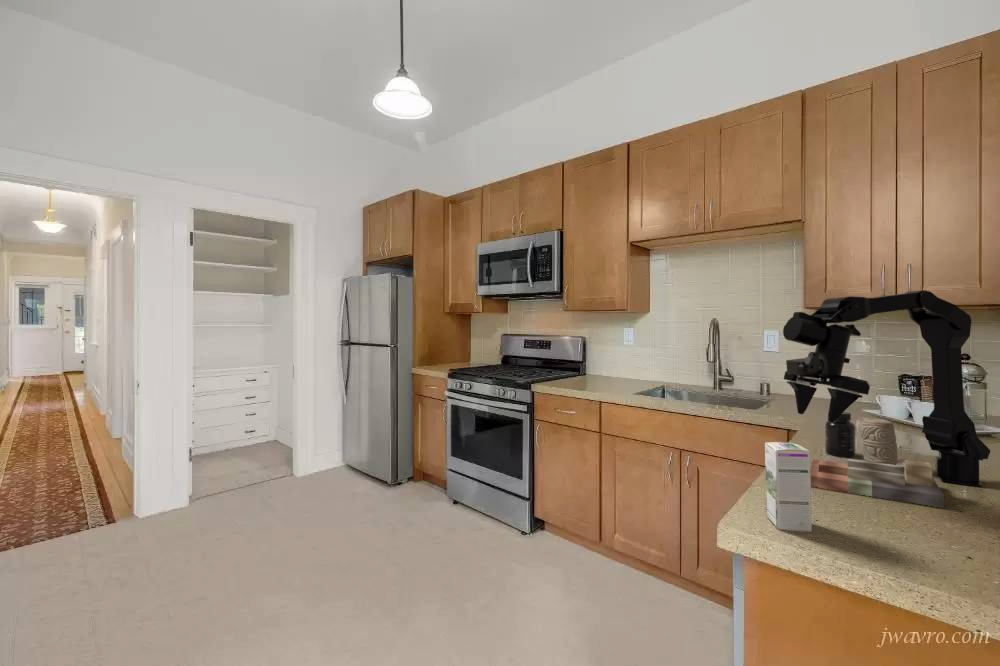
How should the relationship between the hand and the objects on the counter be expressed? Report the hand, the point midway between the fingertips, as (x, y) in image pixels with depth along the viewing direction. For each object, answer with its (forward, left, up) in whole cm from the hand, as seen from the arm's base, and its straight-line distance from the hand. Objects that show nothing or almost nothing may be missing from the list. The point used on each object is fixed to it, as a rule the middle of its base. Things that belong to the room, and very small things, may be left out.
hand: (814, 417), depth 103 cm
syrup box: (+3, +28, -16) cm, 32 cm away
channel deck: (-10, -6, -15) cm, 19 cm away
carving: (-12, -26, -16) cm, 33 cm away
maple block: (-18, -6, -13) cm, 23 cm away
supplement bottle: (-4, -34, -16) cm, 38 cm away
